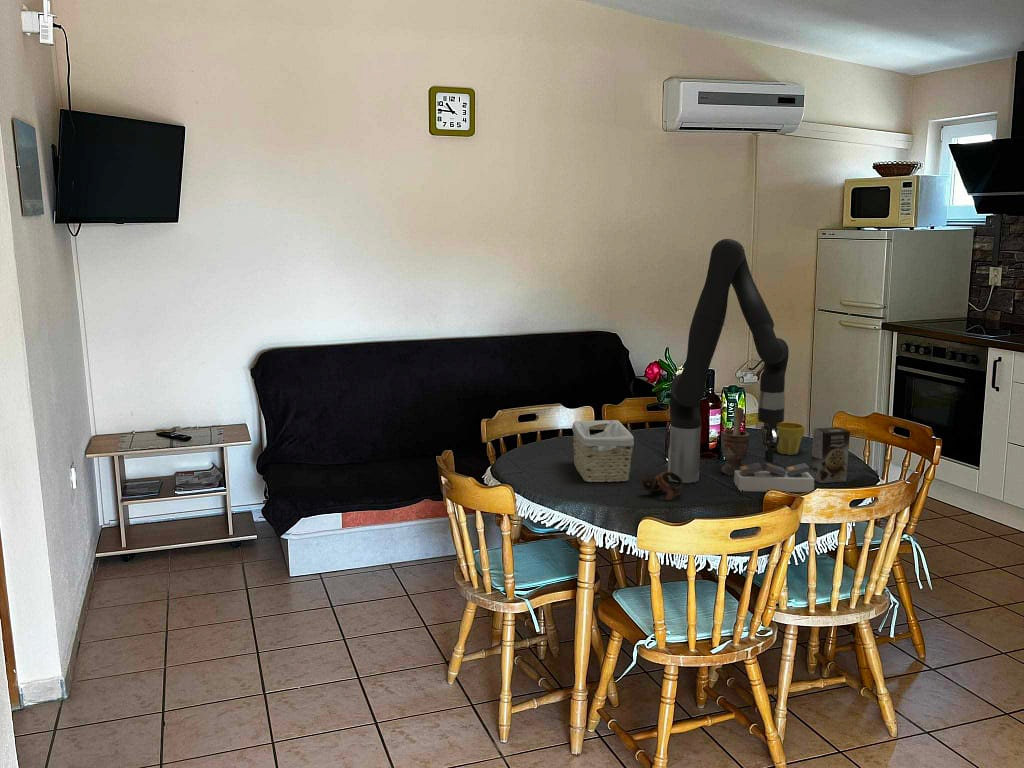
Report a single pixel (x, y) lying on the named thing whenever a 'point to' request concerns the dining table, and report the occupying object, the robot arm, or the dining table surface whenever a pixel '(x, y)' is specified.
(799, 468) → the rocker
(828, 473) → the brown cookie box
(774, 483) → the power strip
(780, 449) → the plant pot
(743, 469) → the rocker
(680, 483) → the brown looped piece
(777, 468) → the rocker
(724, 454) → the mortar and pestle
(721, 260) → the robot arm
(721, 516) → the dining table surface
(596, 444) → the storage basket
